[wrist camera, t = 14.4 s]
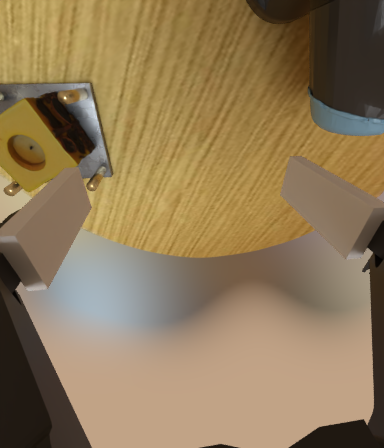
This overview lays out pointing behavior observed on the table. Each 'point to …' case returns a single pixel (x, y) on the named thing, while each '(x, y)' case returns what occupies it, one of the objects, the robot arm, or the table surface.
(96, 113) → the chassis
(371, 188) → the table surface
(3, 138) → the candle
